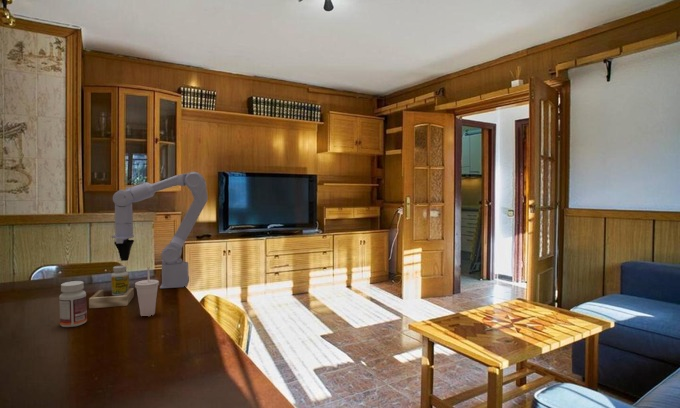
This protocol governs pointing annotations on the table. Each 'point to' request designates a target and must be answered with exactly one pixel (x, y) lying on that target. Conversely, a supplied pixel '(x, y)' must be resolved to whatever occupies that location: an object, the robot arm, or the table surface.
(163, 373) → the table surface
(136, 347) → the table surface
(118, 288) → the supplement bottle
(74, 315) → the pill bottle
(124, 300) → the beech corral
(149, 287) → the smoothie
